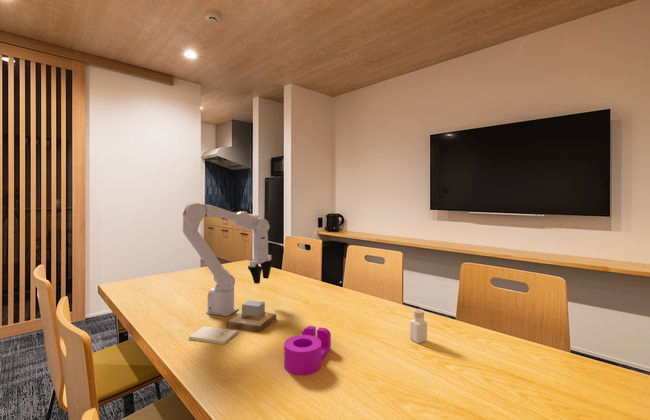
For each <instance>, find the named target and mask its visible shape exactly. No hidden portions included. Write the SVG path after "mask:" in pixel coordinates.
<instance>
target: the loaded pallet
mask: <svg viewBox="0 0 650 420" xmlns="http://www.w3.org/2000/svg"><path fill="white" fill-rule="evenodd" d="M265 305H266V302H265V301H257V300H251V299H249V300H247V301H246V302H244V303H242V304H241V312H242V314H241V318H242V319H249V320H256V321H260V320H261V319H262V318H264V317H265V312H266V311H265V310H266V308H265V307H266V306H265Z"/></svg>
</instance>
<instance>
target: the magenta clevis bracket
mask: <svg viewBox="0 0 650 420" xmlns="http://www.w3.org/2000/svg"><path fill="white" fill-rule="evenodd" d="M316 328H317V327H316V326H313V325H308V326H306V327H305V328H304V329H302V332H301V334H297V335H292V336H290V337H287V338H286V339H285V340H284V343H283V367H284V370H285V371H286V372H287V373H289V374H291V375H294V376H309V375H312V374H314V373H317V372H318V371H319V370H320V369H321V368H322V362H323V360H324V359H325V358H326V357H327V355H328V354H329V352H330V351H331V350H332V346H331V344H332V335H331V332H330V330H329V329H328V328H325V327H320V326H319V327H318V328H317V329H316Z"/></svg>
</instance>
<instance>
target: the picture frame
mask: <svg viewBox="0 0 650 420" xmlns="http://www.w3.org/2000/svg"><path fill="white" fill-rule="evenodd" d="M241 314H242V311H241V312H239V314H237V315H235V316H233V317H232V318H230V319H229V320H227V321H226V324H225V326H226V328H232V329H237V330H238V329H239V330H245V331H251V332H252V331H253V332H259V333H261V332H262V331H263V330H265V329H266V328H267V327H268V326H269V325H271V324H272V323H273V322H274V321H276V319H277V314H276V313H270V312H266V311H265V317H264V318H262V319H261V320H260V321H256V320H249V319H242V318H241Z"/></svg>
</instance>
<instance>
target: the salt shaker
mask: <svg viewBox="0 0 650 420" xmlns="http://www.w3.org/2000/svg"><path fill="white" fill-rule="evenodd" d="M424 318H425V311H424V310H423V309H421V308H420V309H419V308H415V309H413V319H411V320H410V321H409V339H410V340H411V341H412V342H414V343H416V344H421V343H424V342H427V340H428V322H427V321H426V320H425V319H424Z"/></svg>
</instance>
